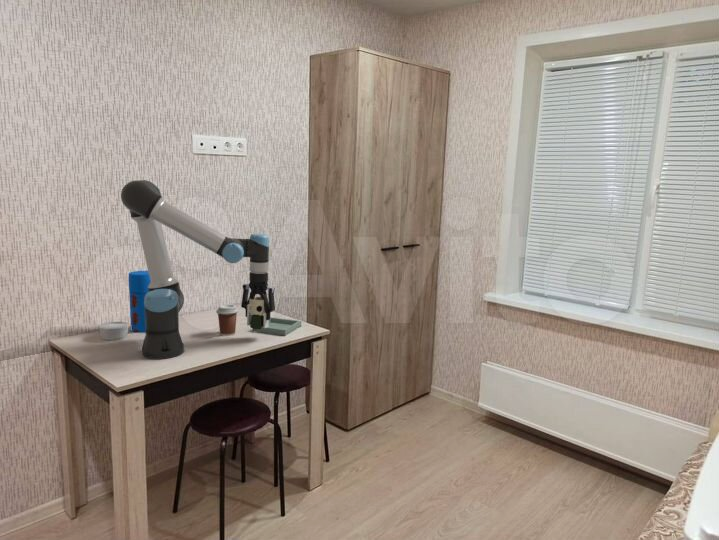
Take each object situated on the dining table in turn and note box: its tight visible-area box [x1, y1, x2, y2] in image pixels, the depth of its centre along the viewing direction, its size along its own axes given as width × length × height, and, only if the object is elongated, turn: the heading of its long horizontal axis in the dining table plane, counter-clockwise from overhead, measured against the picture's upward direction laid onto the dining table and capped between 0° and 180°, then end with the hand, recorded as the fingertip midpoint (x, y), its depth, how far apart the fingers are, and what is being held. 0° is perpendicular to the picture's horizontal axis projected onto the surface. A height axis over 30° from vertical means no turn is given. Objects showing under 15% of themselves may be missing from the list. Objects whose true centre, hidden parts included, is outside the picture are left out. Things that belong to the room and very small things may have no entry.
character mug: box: [247, 296, 266, 329], centre depth 213 cm, size 11×7×13 cm, turn 140°
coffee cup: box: [215, 304, 239, 337], centre depth 220 cm, size 9×9×12 cm
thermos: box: [128, 270, 151, 333], centre depth 222 cm, size 11×11×25 cm
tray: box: [251, 316, 302, 337], centre depth 230 cm, size 16×16×2 cm
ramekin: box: [98, 321, 130, 341], centre depth 212 cm, size 11×11×5 cm
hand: (257, 325), depth 214 cm, fingers closed on character mug, 7 cm apart
